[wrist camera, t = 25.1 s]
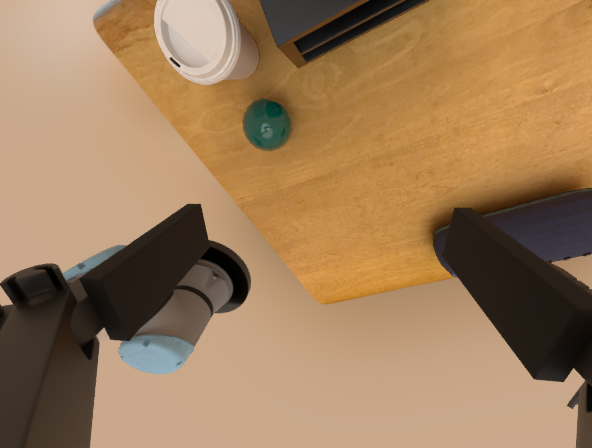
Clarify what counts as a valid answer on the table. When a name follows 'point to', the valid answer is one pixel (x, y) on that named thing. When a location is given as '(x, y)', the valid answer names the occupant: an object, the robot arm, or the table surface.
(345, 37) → the rack
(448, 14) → the table surface
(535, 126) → the table surface
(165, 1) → the coffee cup
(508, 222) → the portable speaker
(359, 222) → the table surface
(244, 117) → the sphere
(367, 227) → the table surface
